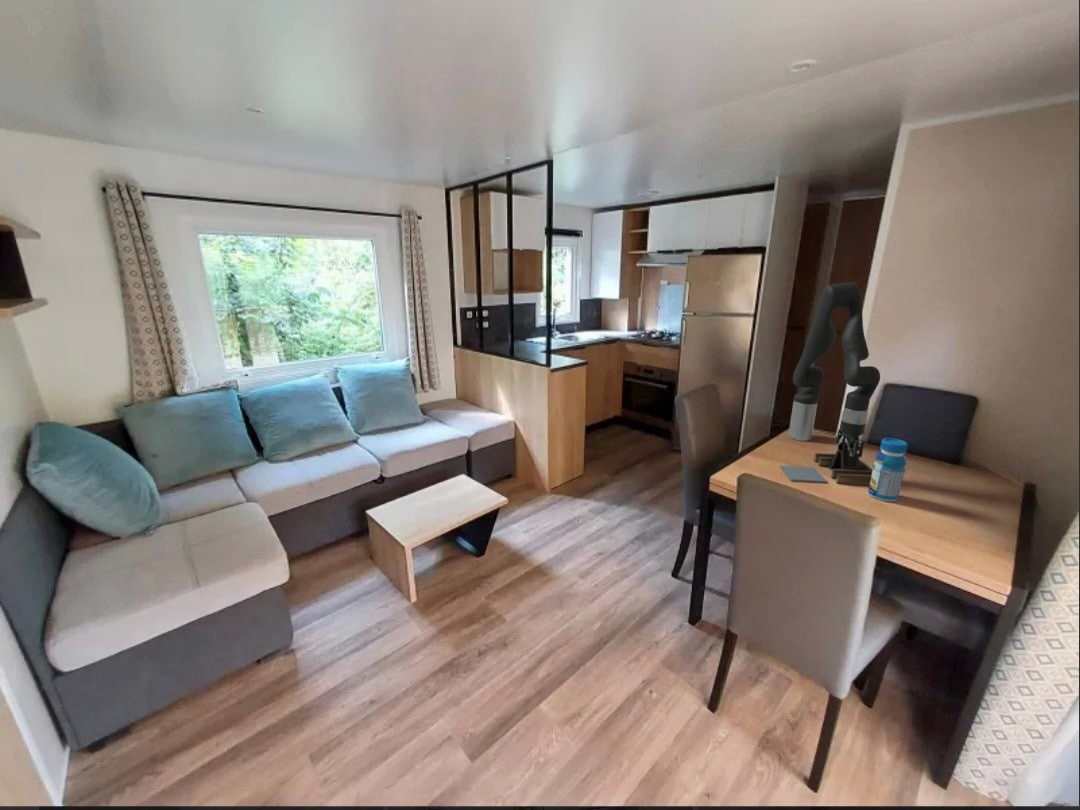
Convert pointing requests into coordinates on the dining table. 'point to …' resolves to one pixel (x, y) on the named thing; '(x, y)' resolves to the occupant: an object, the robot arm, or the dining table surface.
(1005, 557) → the dining table surface
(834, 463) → the phone stand
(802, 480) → the slate mat
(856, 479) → the walnut rack
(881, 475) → the blue pill bottle
